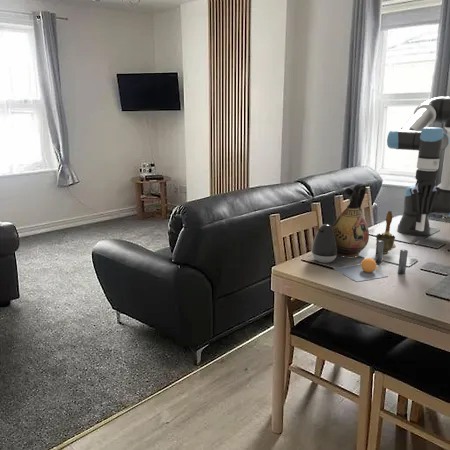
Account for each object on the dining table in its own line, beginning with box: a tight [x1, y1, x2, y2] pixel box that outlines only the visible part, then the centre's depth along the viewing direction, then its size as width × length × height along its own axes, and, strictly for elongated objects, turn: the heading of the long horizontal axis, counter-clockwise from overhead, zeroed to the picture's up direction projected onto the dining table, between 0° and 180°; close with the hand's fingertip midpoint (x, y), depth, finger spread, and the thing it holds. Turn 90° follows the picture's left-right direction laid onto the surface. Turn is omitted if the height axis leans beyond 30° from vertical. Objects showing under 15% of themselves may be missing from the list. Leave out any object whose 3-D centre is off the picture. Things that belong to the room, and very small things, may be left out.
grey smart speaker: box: [311, 223, 338, 264], centre depth 177 cm, size 10×10×15 cm
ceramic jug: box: [332, 183, 370, 258], centre depth 184 cm, size 17×15×30 cm
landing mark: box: [332, 263, 389, 283], centre depth 167 cm, size 14×14×1 cm
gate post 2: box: [397, 249, 409, 276], centre depth 165 cm, size 3×3×9 cm
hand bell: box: [375, 210, 396, 249], centre depth 198 cm, size 8×8×16 cm
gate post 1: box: [374, 240, 384, 265], centre depth 177 cm, size 3×3×9 cm
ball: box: [360, 257, 377, 273], centre depth 167 cm, size 6×6×6 cm
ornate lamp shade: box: [376, 232, 396, 256], centre depth 188 cm, size 8×7×8 cm
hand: (419, 230), depth 173 cm, fingers closed
